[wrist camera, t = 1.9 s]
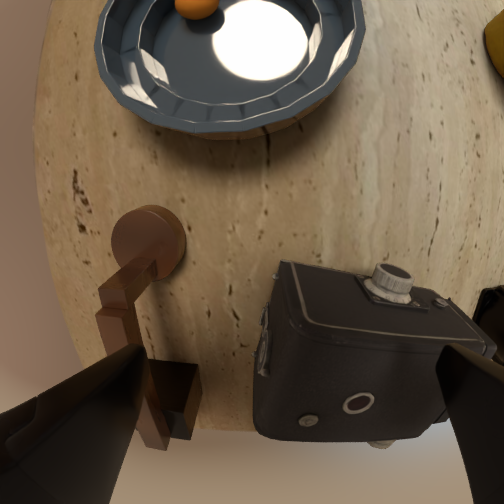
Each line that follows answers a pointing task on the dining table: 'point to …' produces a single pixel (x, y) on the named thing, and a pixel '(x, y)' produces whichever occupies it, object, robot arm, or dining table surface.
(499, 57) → the mug
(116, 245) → the ladle
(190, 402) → the dark upright block
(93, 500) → the robot arm
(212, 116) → the bowl
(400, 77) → the dining table surface
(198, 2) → the orange ball
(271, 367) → the camera
